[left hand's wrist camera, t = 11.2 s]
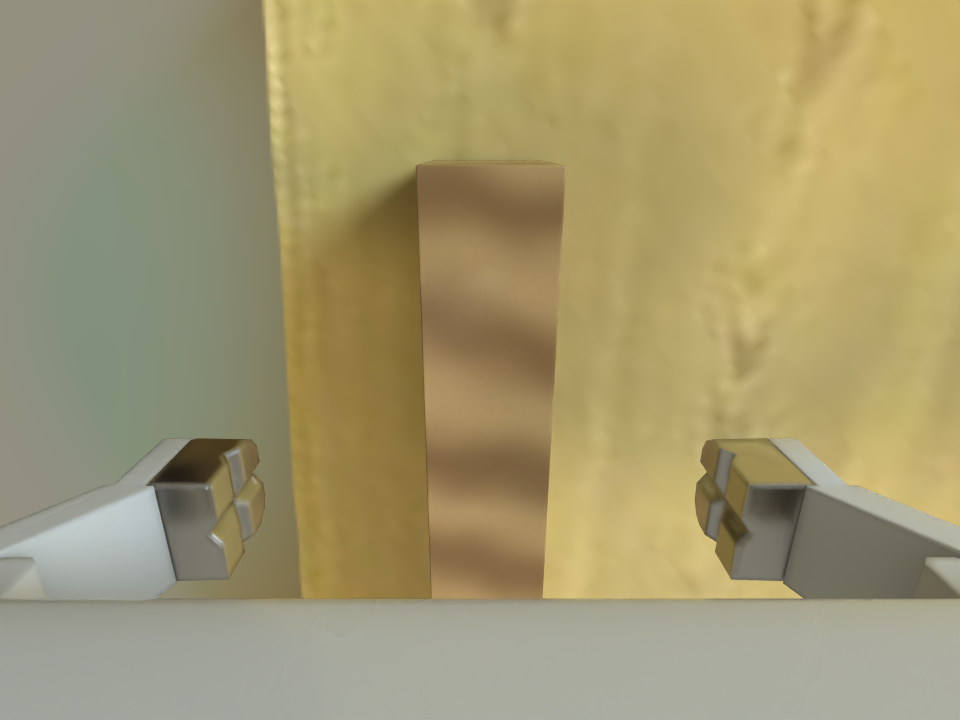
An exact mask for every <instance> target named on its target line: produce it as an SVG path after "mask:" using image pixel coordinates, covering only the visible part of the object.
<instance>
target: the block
mask: <svg viewBox="0 0 960 720" xmlns="http://www.w3.org/2000/svg"><path fill="white" fill-rule="evenodd" d="M565 176H566V166H564V165H559V164H555V163H551V162H546V161H469V160H433V161H430V162H427V163H423V164H420V165H417V166H416V184H417V212H418V239H419V267H420V295H421V323H422V351H423V379H424V407H425V434H426V462H427V490H428V518H429V546H430V574H431V599H542V597H543V579H544V560H545V542H546V524H547V505H548V487H549V469H550V451H551V432H552V414H553V396H554V377H555V359H556V341H557V322H558V304H559V286H560V267H561V249H562V231H563V213H564V194H565Z"/></svg>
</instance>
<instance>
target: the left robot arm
mask: <svg viewBox="0 0 960 720" xmlns="http://www.w3.org/2000/svg"><path fill="white" fill-rule="evenodd" d="M259 462H260V460H259V455H258V450H257V446H256V444H255V443H254V442H253V441H252V440H251V439H202V438H198V439H195V438H170V439H163V440H162V441H161V442H160V443H159V444H157V445H156V446H155V447H154V448H153V449H152V450H151V451H150V452H149V453H148V454H146V455H145V456H144V457H143V458H142V459H141V460H140V461H139V462H138V463H136V464H135V465H134V466H133V467H132V468H131V469H130V470H129V471H128V472H127V473H125V474H124V475H123V476H122V477H121V478H120V479H119V480H118V481H117V482H115V483H114V484H113V485H112V486H101V487H98V488H96V489H93V490H91V491H88V492H86V493H83V494H81V495H78V496H76V497H74V498H71V499H68V500H66V501H63V502H61V503H58V504H56V505H53V506H51V507H48V508H46V509H43V510H41V511H38V512H36V513H33V514H31V515H28V516H26V517H23V518H21V519H18V520H16V521H14V522H11V523H8V524H6V525H3V526H1V527H0V720H960V527H959V526H956V525H954V524H951V523H949V522H946V521H944V520H941V519H939V518H936V517H934V516H932V515H929V514H927V513H924V512H922V511H919V510H917V509H914V508H912V507H909V506H907V505H904V504H902V503H899V502H897V501H894V500H892V499H889V498H887V497H884V496H882V495H879V494H877V493H874V492H872V491H869V490H867V489H864V488H862V487H859V486H848V485H847V484H846V483H845V482H843V481H842V480H841V479H840V478H839V477H838V476H837V475H836V474H835V473H834V472H832V471H831V470H830V469H829V468H828V467H827V466H826V465H825V464H824V463H823V462H821V461H820V460H819V459H818V458H817V457H816V456H815V455H814V454H813V453H812V452H810V451H809V450H808V449H807V448H806V447H805V446H804V445H803V444H802V443H801V442H799V441H798V440H796V439H793V438H771V439H767V438H757V439H715V440H708V441H706V442H705V445H704V447H703V449H702V454H701V460H700V462H701V463H702V465H703V467H704V468H705V470H706V471H707V473H706V474H705V475H704V476H703V477H702V478H701V479H700V480H699V481H698V482H697V485H696V494H695V506H696V515H697V518H698V521H699V524H700V527H701V528H702V530H703V532H704V534H705V535H706V536H708V537H710V538H711V539H713V540H714V541H716V542H717V544H716V550H715V553H716V554H717V556H718V558H719V559H720V561H721V563H722V565H723V566H724V568H725V570H726V571H727V573H728V575H729V576H730V578H731V580H767V581H784V582H783V583H784V584H785V585H786V586H788V587H789V588H790V589H792V590H793V591H794V592H796V593H797V594H798V595H800V596H801V597H802V598H804V599H156V598H158V597H159V596H160V595H162V594H163V593H164V592H166V591H167V590H169V589H170V588H171V587H173V586H174V585H175V584H176V583H177V582H176V581H192V580H228V579H229V578H230V576H231V575H232V573H233V571H234V570H235V568H236V566H237V564H238V563H239V561H240V559H241V558H242V556H243V554H244V553H245V550H244V544H243V542H244V541H246V540H247V539H249V538H250V537H252V536H254V535H255V534H256V532H257V530H258V528H259V526H260V525H261V522H262V518H263V513H264V509H265V492H264V485H263V482H262V481H261V480H260V479H259V478H258V477H257V476H256V475H255V474H254V473H253V471H254V470H255V468H256V467H257V465H258V463H259Z"/></svg>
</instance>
